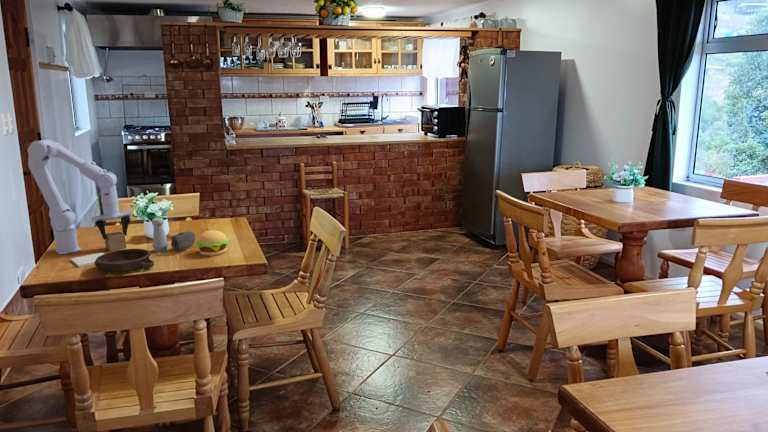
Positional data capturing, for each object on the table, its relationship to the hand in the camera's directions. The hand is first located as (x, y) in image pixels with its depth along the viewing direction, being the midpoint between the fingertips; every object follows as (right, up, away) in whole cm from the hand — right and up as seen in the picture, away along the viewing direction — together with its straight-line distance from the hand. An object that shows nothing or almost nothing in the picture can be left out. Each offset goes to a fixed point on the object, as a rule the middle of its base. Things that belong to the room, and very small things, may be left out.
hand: (114, 237), depth 230 cm
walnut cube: (0, -5, +1) cm, 5 cm away
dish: (+15, -11, -24) cm, 30 cm away
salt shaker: (+20, -5, -3) cm, 21 cm away
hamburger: (+41, -6, -7) cm, 42 cm away
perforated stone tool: (+28, -5, -1) cm, 29 cm away
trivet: (-2, -8, -14) cm, 17 cm away
